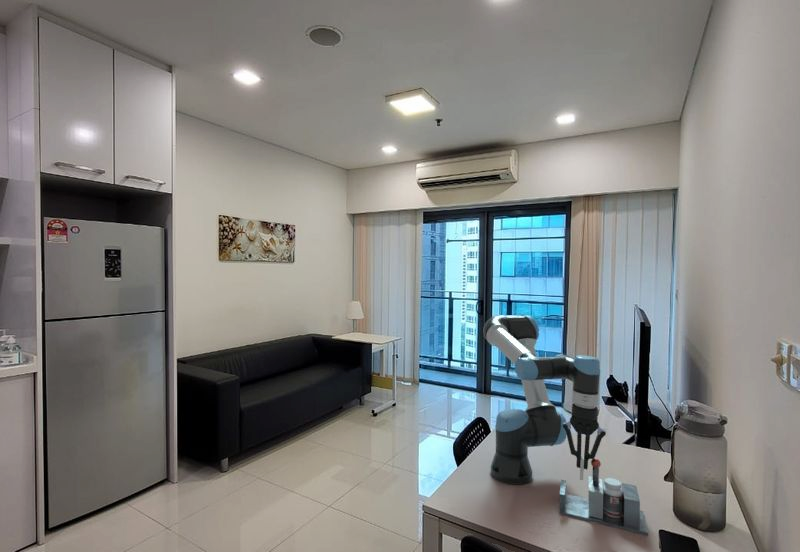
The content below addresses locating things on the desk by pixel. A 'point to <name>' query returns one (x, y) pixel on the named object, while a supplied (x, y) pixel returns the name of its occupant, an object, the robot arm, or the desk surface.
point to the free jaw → (595, 492)
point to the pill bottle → (612, 498)
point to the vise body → (628, 521)
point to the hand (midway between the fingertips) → (581, 478)
